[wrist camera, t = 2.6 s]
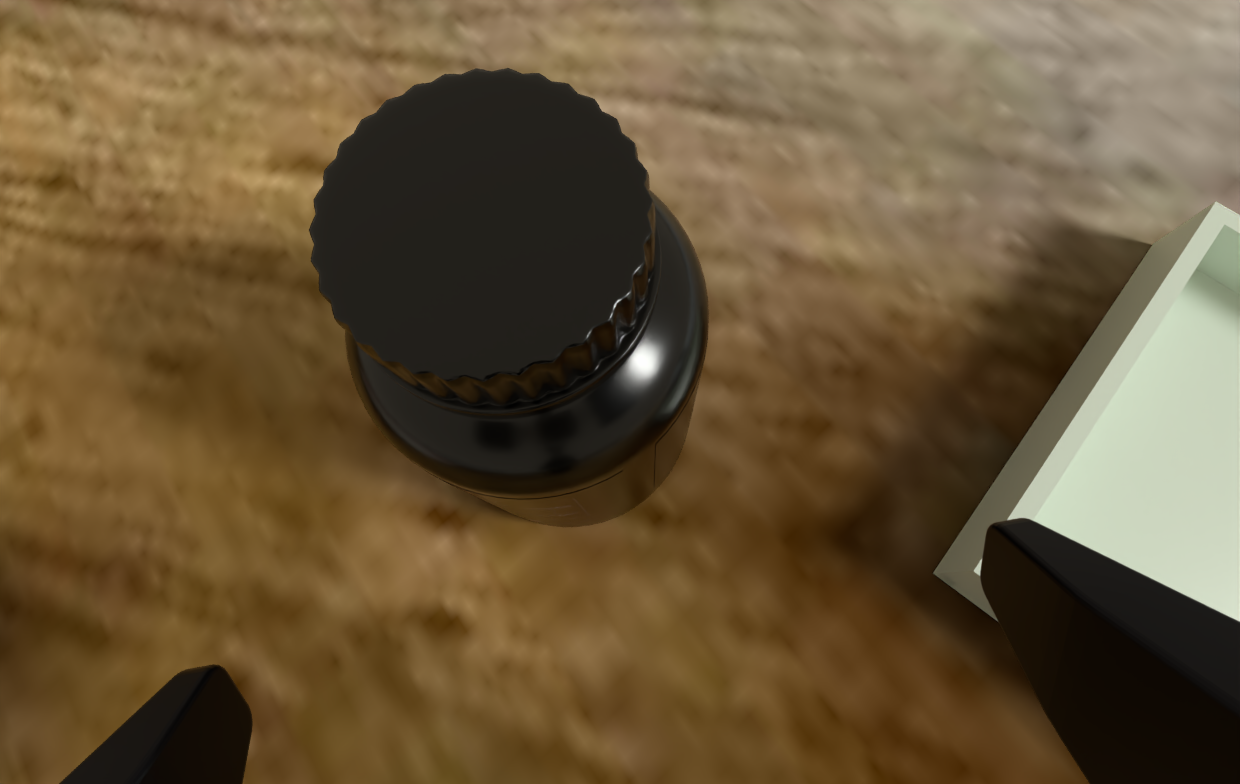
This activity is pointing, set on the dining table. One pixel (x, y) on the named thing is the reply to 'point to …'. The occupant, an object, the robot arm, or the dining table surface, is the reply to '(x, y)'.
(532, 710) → the dining table surface
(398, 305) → the supplement bottle
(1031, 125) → the dining table surface
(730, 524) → the dining table surface
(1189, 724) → the robot arm
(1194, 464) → the tray
